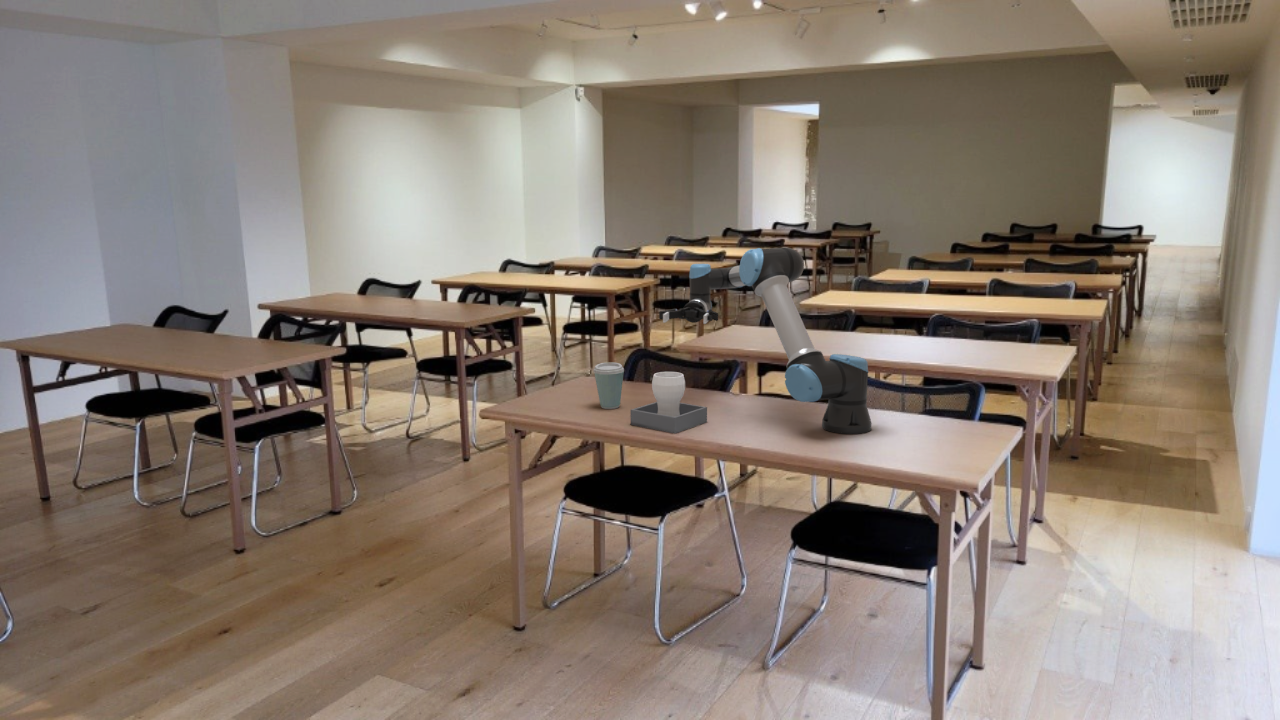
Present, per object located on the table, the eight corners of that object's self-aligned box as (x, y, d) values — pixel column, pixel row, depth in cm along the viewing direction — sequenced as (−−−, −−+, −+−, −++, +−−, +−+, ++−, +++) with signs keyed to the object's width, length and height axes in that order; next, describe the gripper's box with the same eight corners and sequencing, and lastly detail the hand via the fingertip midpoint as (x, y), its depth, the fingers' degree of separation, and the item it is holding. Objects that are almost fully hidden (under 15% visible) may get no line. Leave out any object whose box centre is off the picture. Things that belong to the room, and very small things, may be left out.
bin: (707, 422, 297) (707, 407, 296) (674, 433, 283) (675, 417, 282) (663, 414, 307) (663, 399, 306) (630, 424, 294) (630, 409, 293)
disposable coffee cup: (624, 410, 312) (623, 367, 310) (592, 410, 313) (591, 367, 310) (625, 403, 323) (624, 361, 320) (594, 403, 323) (594, 361, 320)
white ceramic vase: (685, 424, 290) (686, 377, 287) (652, 424, 290) (652, 378, 287) (684, 416, 301) (684, 371, 298) (651, 416, 300) (651, 371, 298)
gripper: (730, 322, 321) (721, 331, 301) (660, 320, 327) (647, 329, 306) (730, 301, 320) (721, 308, 299) (660, 299, 325) (647, 306, 305)
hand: (684, 319), depth 303 cm, fingers open, 13 cm apart
